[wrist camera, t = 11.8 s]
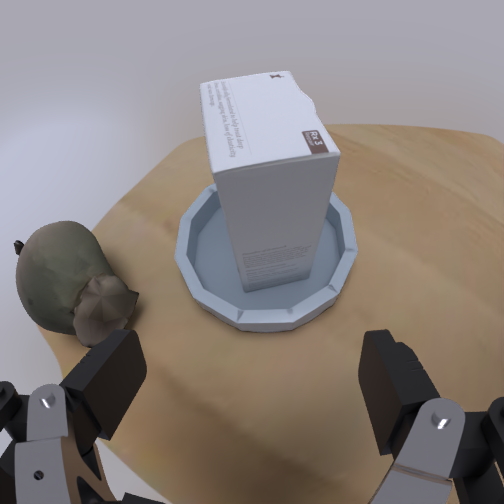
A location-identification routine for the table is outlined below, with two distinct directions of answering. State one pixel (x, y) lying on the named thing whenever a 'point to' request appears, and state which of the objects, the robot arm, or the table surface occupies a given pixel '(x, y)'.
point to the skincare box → (269, 173)
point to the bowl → (267, 299)
